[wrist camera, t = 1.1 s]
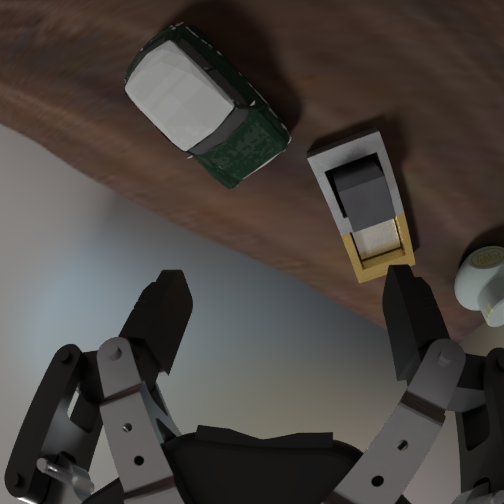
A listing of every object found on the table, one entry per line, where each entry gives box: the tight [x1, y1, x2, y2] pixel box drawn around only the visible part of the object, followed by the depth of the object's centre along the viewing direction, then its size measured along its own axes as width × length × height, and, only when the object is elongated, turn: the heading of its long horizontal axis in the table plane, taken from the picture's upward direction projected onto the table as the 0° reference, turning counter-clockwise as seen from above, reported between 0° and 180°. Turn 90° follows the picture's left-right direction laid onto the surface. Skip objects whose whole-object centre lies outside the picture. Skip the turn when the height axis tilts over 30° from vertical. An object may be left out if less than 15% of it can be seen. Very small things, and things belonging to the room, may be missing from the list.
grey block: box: [331, 155, 396, 232], centre depth 28 cm, size 5×5×6 cm
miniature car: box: [123, 22, 292, 189], centre depth 25 cm, size 9×18×8 cm, turn 41°
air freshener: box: [455, 246, 504, 327], centre depth 31 cm, size 11×8×10 cm
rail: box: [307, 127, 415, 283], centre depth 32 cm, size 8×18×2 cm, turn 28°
